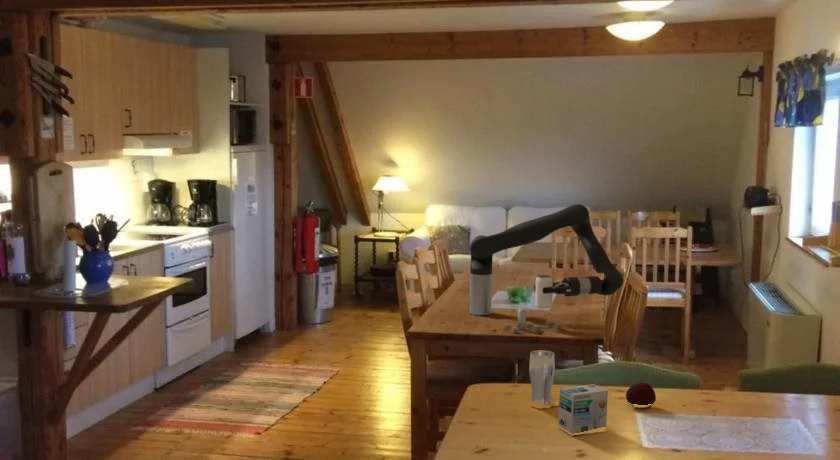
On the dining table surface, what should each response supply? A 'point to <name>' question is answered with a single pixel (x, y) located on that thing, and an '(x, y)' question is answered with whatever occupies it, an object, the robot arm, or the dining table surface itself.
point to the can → (542, 298)
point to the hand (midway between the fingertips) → (538, 289)
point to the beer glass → (542, 375)
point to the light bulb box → (582, 408)
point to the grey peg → (522, 319)
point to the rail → (534, 327)
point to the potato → (641, 394)
